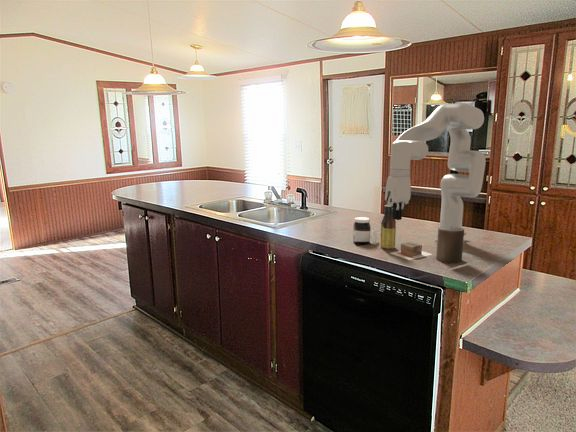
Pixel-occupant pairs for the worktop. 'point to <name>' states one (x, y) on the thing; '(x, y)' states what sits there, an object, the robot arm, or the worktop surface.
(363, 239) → the spread jar
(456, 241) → the brown cylindrical pedestal
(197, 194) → the worktop surface
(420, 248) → the walnut block
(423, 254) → the board
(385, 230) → the sauce bottle
